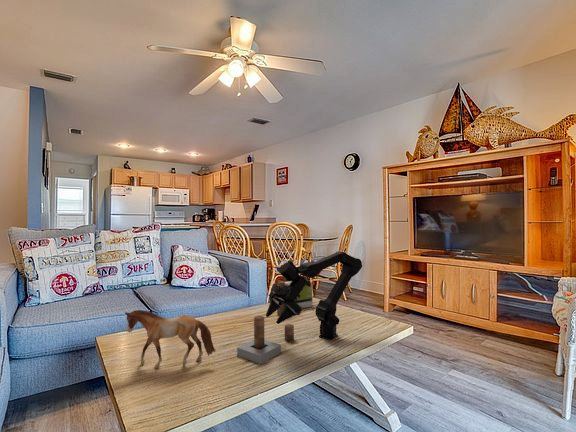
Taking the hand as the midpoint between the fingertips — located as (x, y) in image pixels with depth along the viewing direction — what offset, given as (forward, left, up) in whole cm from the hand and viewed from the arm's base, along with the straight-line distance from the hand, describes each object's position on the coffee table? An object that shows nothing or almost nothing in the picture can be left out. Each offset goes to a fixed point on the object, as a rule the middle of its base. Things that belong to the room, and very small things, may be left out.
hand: (271, 319), depth 121 cm
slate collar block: (+2, +5, -12) cm, 13 cm away
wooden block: (+24, -41, -12) cm, 49 cm away
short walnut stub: (+1, -13, -12) cm, 18 cm away
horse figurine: (+19, +32, -12) cm, 39 cm away
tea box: (+27, -56, -12) cm, 64 cm away
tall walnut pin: (+2, +5, -12) cm, 13 cm away
